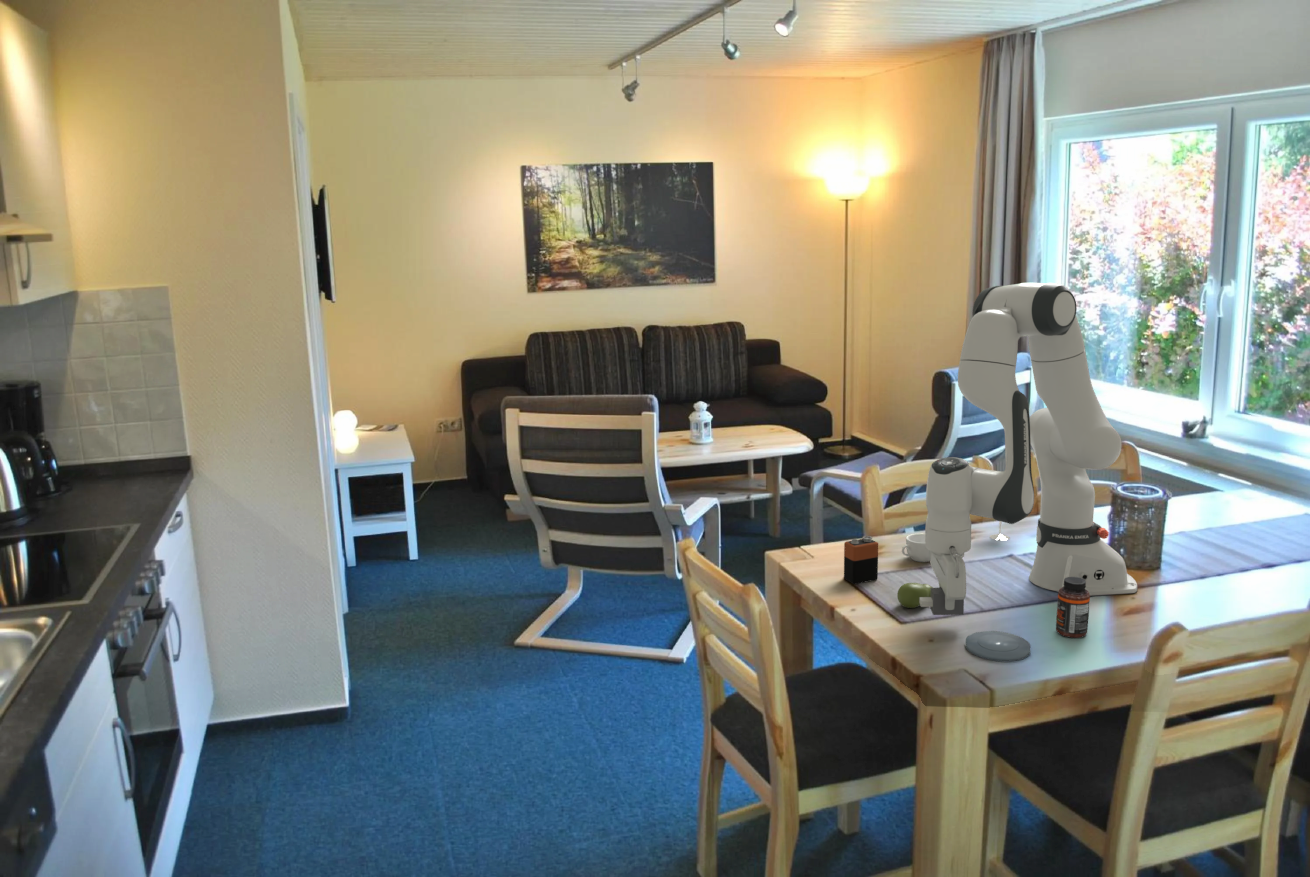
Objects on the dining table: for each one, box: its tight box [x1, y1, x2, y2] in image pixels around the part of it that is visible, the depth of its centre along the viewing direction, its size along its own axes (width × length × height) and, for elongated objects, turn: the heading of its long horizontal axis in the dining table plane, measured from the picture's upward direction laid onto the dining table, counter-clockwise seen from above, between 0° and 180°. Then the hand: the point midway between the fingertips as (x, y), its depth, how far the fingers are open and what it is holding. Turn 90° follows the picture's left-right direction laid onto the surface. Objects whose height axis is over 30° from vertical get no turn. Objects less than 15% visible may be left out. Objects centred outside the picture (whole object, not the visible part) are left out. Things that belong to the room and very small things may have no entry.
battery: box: [843, 535, 879, 585], centre depth 239 cm, size 4×7×10 cm, turn 113°
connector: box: [919, 587, 965, 616], centre depth 211 cm, size 8×4×4 cm, turn 85°
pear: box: [897, 582, 934, 609], centre depth 225 cm, size 6×5×10 cm
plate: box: [965, 630, 1032, 662], centre depth 202 cm, size 12×12×1 cm
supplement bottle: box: [1055, 577, 1091, 639], centre depth 207 cm, size 6×6×11 cm
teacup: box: [901, 532, 930, 563], centre depth 252 cm, size 10×8×5 cm
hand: (946, 603), depth 211 cm, fingers closed on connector, 3 cm apart
